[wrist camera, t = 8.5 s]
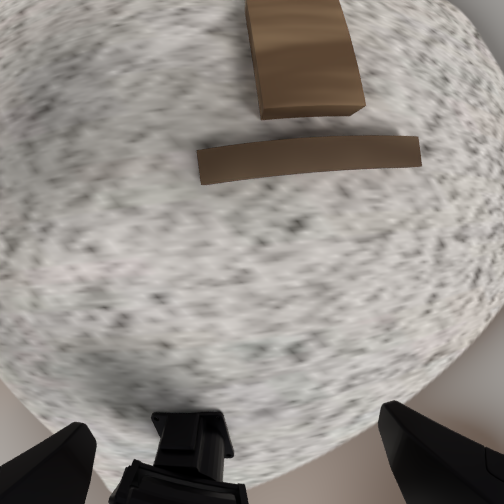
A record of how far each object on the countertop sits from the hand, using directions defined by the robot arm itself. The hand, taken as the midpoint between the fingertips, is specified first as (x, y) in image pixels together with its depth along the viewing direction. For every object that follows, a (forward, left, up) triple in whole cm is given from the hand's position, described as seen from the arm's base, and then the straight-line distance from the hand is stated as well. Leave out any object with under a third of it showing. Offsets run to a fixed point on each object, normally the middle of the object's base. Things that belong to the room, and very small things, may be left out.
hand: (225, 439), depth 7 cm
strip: (+8, -6, -13) cm, 16 cm away
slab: (+11, -6, -12) cm, 17 cm away
